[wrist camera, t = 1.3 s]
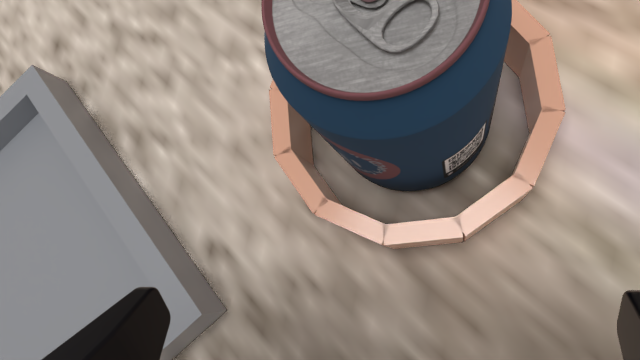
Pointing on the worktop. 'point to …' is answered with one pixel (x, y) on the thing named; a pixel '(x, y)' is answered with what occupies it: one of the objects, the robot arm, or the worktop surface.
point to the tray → (79, 229)
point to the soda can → (392, 80)
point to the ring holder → (543, 122)
